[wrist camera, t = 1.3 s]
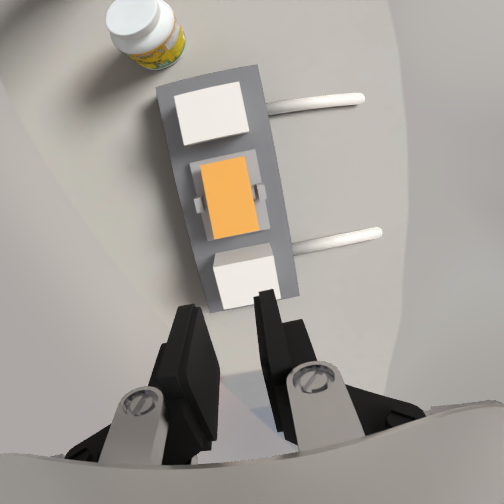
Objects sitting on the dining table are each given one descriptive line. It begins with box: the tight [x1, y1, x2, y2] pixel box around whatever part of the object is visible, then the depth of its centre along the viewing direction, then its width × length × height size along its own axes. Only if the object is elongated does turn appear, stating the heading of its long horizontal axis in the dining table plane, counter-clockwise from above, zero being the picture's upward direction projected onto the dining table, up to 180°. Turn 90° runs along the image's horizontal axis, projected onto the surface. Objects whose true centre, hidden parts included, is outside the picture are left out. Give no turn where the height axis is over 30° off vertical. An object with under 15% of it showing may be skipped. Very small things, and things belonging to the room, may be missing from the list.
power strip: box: [156, 65, 382, 313], centre depth 27 cm, size 22×19×6 cm
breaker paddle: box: [200, 156, 260, 239], centre depth 25 cm, size 6×4×1 cm, turn 11°
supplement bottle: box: [105, 0, 186, 70], centre depth 21 cm, size 5×5×10 cm
